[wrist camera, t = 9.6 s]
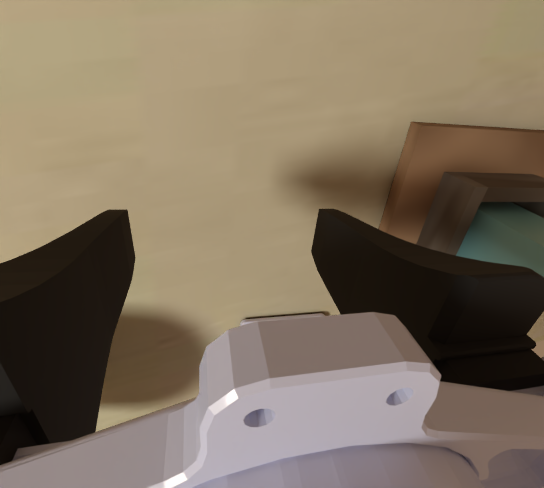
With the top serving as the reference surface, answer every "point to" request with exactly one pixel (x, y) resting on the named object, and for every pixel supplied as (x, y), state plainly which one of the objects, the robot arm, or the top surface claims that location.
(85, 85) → the top surface
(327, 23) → the top surface
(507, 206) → the block
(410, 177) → the end holder
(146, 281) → the top surface
